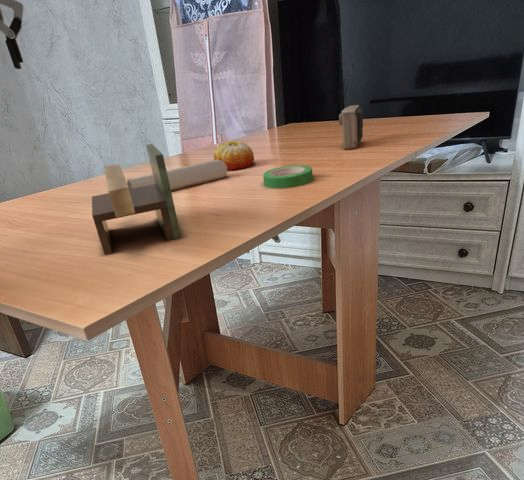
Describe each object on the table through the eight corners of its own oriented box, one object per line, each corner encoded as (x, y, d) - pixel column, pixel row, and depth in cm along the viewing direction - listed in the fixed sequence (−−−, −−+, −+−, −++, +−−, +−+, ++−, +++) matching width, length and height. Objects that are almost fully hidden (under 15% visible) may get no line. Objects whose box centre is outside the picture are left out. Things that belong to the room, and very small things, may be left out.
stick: (116, 217, 72) (108, 191, 70) (110, 188, 91) (103, 166, 89) (135, 213, 72) (128, 187, 70) (125, 185, 92) (119, 163, 90)
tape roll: (286, 191, 100) (285, 179, 98) (254, 186, 107) (253, 174, 106) (323, 179, 105) (322, 167, 104) (290, 175, 113) (289, 163, 111)
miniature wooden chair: (105, 256, 78) (77, 170, 71) (103, 232, 91) (79, 156, 83) (182, 239, 81) (162, 154, 74) (169, 218, 93) (152, 143, 86)
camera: (345, 142, 140) (344, 105, 134) (365, 141, 138) (365, 103, 132) (338, 150, 131) (337, 111, 125) (359, 149, 129) (359, 109, 124)
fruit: (207, 172, 126) (205, 140, 124) (227, 174, 135) (226, 144, 133) (243, 170, 121) (242, 136, 119) (261, 172, 130) (261, 141, 128)
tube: (219, 159, 120) (125, 180, 111) (226, 154, 115) (129, 175, 106) (225, 180, 121) (132, 203, 112) (233, 176, 116) (136, 199, 107)
